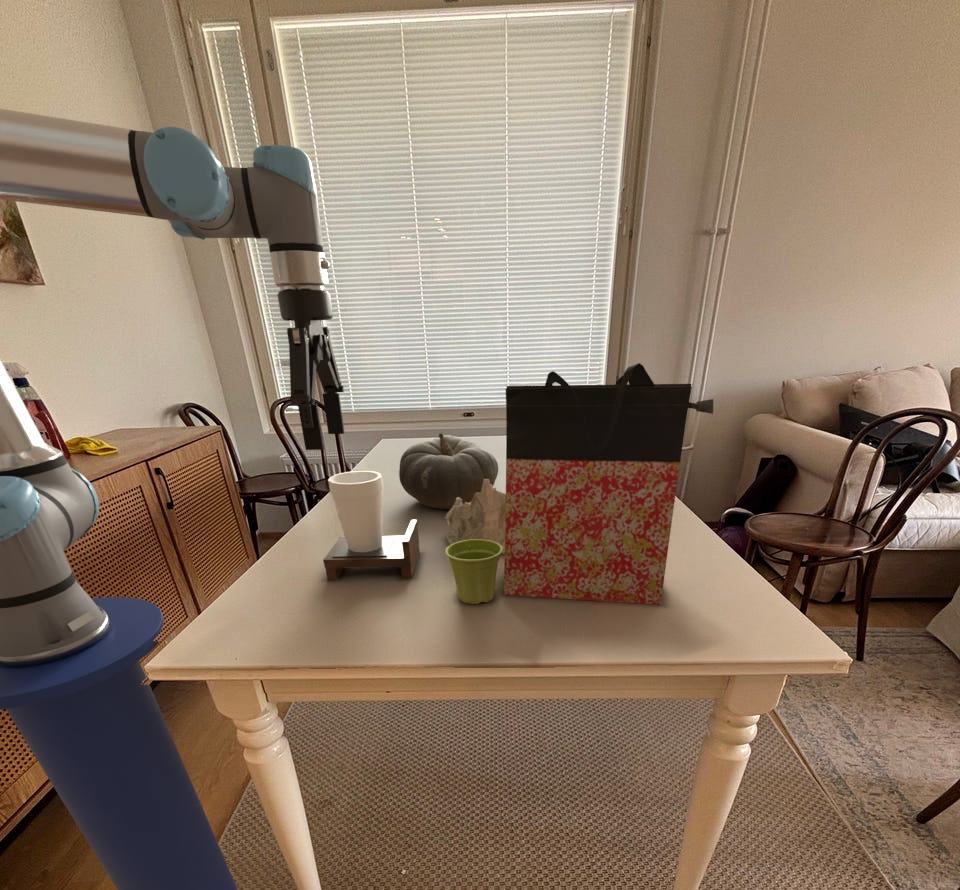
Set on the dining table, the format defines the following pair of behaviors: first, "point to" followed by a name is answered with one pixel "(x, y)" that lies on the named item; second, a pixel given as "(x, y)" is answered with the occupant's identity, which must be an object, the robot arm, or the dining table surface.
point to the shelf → (377, 554)
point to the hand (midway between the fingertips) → (326, 441)
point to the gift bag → (592, 486)
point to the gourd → (446, 471)
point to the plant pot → (474, 568)
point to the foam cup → (359, 508)
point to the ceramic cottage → (479, 517)
